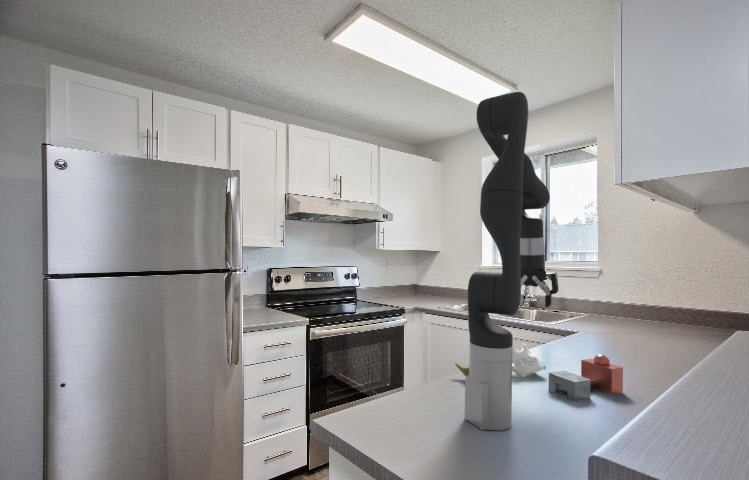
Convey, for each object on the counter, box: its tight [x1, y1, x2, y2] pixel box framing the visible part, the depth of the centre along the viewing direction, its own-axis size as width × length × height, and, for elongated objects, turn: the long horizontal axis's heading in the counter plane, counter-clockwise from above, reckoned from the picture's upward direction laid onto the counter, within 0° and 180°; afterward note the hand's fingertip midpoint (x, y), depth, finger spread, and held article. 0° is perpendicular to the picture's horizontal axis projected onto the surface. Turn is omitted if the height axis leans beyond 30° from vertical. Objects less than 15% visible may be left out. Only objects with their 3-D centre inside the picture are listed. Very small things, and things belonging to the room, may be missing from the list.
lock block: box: [548, 370, 591, 402], centre depth 100 cm, size 6×8×5 cm
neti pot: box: [454, 362, 469, 377], centre depth 107 cm, size 4×15×6 cm, turn 44°
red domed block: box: [580, 354, 624, 396], centre depth 104 cm, size 11×9×10 cm
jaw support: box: [512, 342, 547, 378], centre depth 117 cm, size 12×9×10 cm
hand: (532, 305), depth 112 cm, fingers open, 8 cm apart
